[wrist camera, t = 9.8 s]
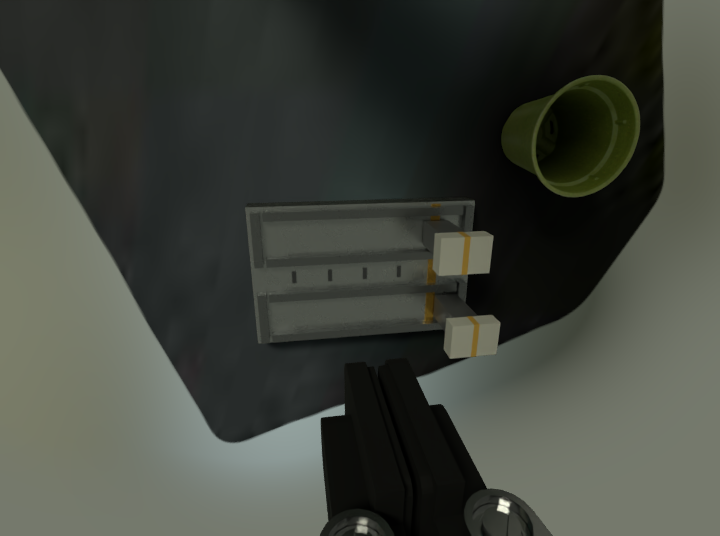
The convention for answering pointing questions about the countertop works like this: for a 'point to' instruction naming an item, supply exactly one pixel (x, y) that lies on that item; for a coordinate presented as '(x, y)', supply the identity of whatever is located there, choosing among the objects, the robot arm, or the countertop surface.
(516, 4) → the countertop surface
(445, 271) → the white striped slider handle
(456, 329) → the fader knob
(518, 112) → the plant pot
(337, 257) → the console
